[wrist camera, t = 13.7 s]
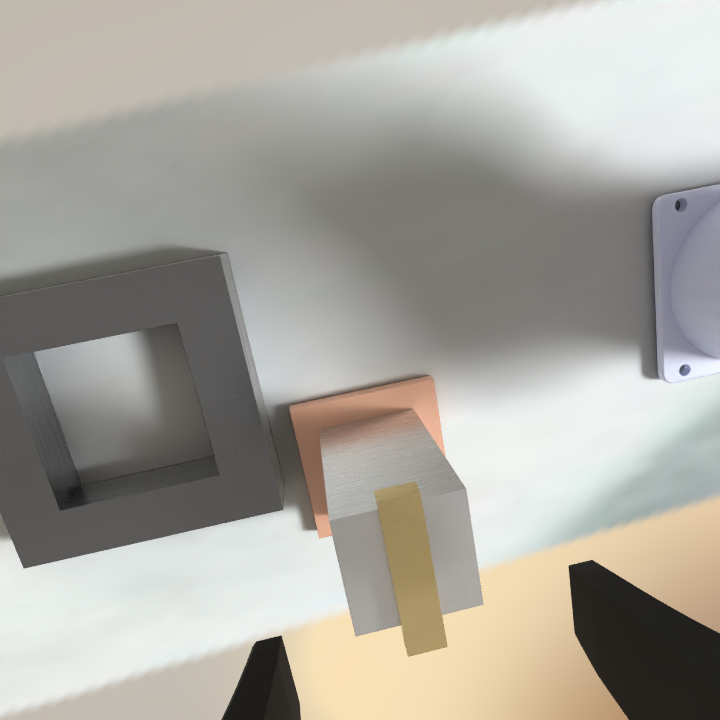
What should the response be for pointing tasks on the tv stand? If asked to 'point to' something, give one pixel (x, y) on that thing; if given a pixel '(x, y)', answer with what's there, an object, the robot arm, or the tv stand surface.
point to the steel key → (399, 528)
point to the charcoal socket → (150, 488)
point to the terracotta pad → (353, 409)
